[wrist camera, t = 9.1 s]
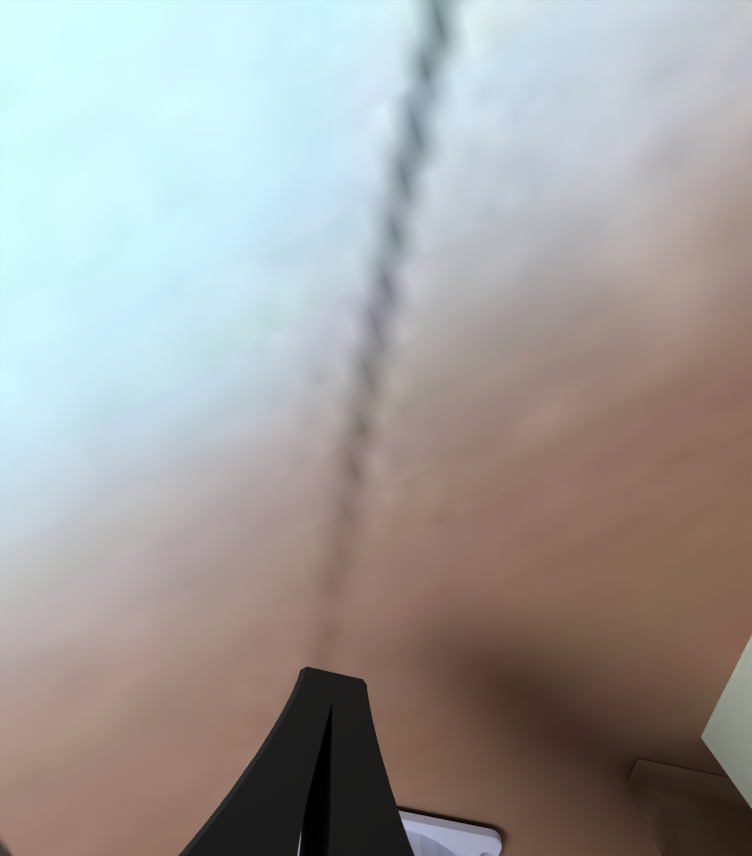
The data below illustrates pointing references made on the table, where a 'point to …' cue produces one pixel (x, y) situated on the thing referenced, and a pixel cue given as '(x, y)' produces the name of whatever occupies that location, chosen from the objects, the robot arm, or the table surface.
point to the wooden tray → (692, 811)
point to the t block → (734, 727)
